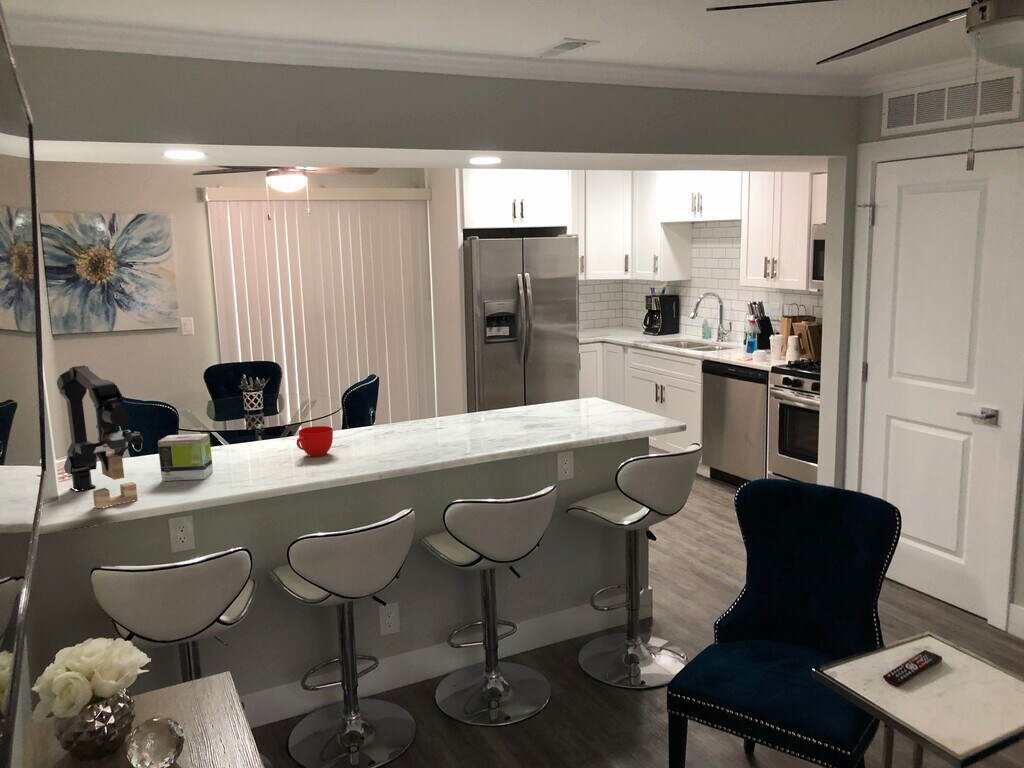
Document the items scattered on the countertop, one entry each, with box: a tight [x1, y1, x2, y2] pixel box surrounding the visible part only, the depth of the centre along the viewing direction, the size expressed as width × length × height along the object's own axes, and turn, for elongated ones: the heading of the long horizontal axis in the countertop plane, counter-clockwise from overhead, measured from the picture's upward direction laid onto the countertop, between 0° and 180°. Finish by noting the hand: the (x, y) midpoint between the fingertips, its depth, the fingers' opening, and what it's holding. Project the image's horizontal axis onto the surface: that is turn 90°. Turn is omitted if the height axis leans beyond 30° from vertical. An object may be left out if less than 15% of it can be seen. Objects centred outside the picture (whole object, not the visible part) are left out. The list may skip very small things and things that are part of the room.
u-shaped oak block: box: [92, 481, 139, 509], centre depth 258 cm, size 4×12×6 cm, turn 136°
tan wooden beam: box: [100, 450, 125, 480], centre depth 256 cm, size 10×3×7 cm, turn 46°
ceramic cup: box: [296, 425, 334, 457], centre depth 311 cm, size 13×17×10 cm
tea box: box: [157, 433, 214, 482], centre depth 286 cm, size 15×10×15 cm
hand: (112, 469), depth 256 cm, fingers closed on tan wooden beam, 3 cm apart
